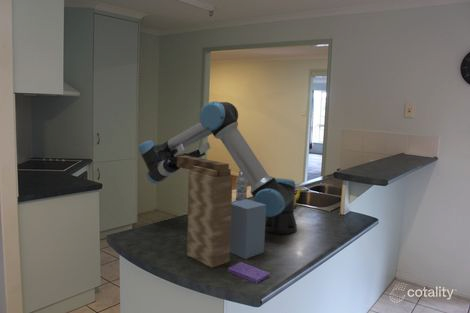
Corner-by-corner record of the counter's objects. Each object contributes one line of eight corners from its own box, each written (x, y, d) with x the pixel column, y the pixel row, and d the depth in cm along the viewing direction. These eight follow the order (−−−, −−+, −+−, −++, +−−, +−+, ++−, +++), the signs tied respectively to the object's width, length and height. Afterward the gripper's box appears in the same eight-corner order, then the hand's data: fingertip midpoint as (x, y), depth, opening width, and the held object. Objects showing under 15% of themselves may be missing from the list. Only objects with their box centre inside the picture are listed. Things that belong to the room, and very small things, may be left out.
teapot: (289, 212, 200) (290, 190, 199) (267, 206, 209) (268, 185, 208) (302, 207, 211) (304, 186, 210) (280, 202, 220) (281, 182, 218)
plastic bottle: (246, 210, 199) (247, 173, 197) (233, 209, 201) (234, 172, 198) (248, 207, 206) (249, 171, 203) (235, 206, 207) (237, 170, 204)
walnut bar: (176, 166, 143) (176, 156, 142) (185, 165, 146) (185, 155, 145) (219, 176, 126) (219, 164, 126) (228, 175, 129) (228, 163, 128)
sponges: (256, 285, 119) (257, 279, 119) (226, 272, 127) (226, 267, 127) (269, 278, 124) (270, 272, 124) (240, 266, 132) (240, 261, 132)
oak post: (187, 255, 139) (188, 165, 134) (204, 249, 144) (206, 163, 140) (212, 267, 129) (215, 171, 124) (229, 261, 134) (232, 169, 130)
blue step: (226, 250, 144) (228, 203, 142) (244, 244, 151) (246, 199, 149) (245, 259, 137) (247, 209, 135) (263, 252, 144) (266, 204, 142)
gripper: (194, 170, 178) (221, 152, 164) (147, 175, 161) (173, 156, 147) (189, 155, 180) (216, 136, 166) (142, 159, 163) (167, 138, 148)
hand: (196, 146), depth 156 cm, fingers open, 13 cm apart
